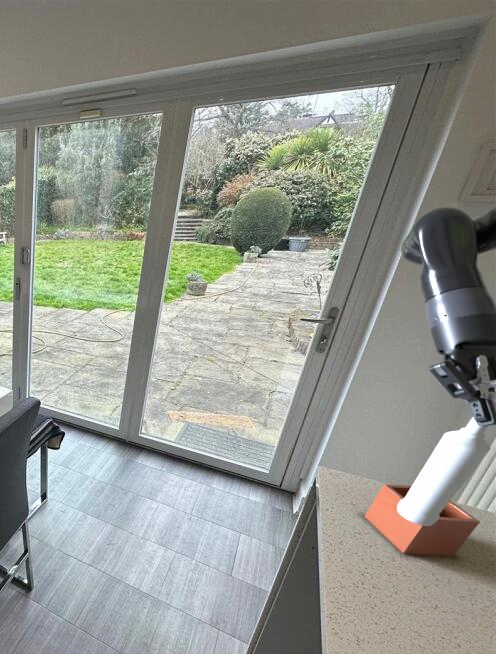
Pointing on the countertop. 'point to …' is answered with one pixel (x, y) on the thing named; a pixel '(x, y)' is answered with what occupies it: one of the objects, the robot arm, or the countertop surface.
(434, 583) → the countertop surface
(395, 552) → the countertop surface
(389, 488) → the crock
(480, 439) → the bottle
